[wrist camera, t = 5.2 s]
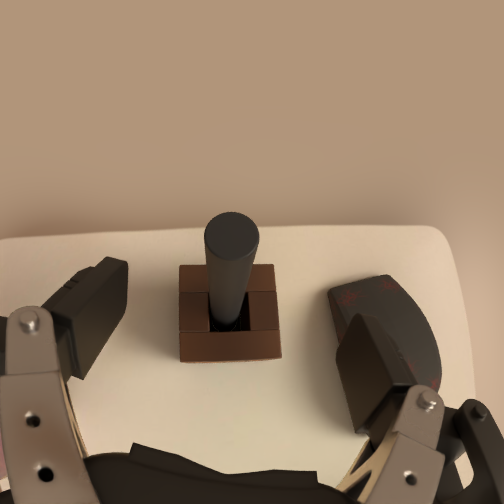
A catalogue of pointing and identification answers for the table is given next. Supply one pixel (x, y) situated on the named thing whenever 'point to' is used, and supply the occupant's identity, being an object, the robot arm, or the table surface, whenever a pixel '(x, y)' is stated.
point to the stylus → (229, 265)
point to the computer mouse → (391, 322)
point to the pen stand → (251, 319)
